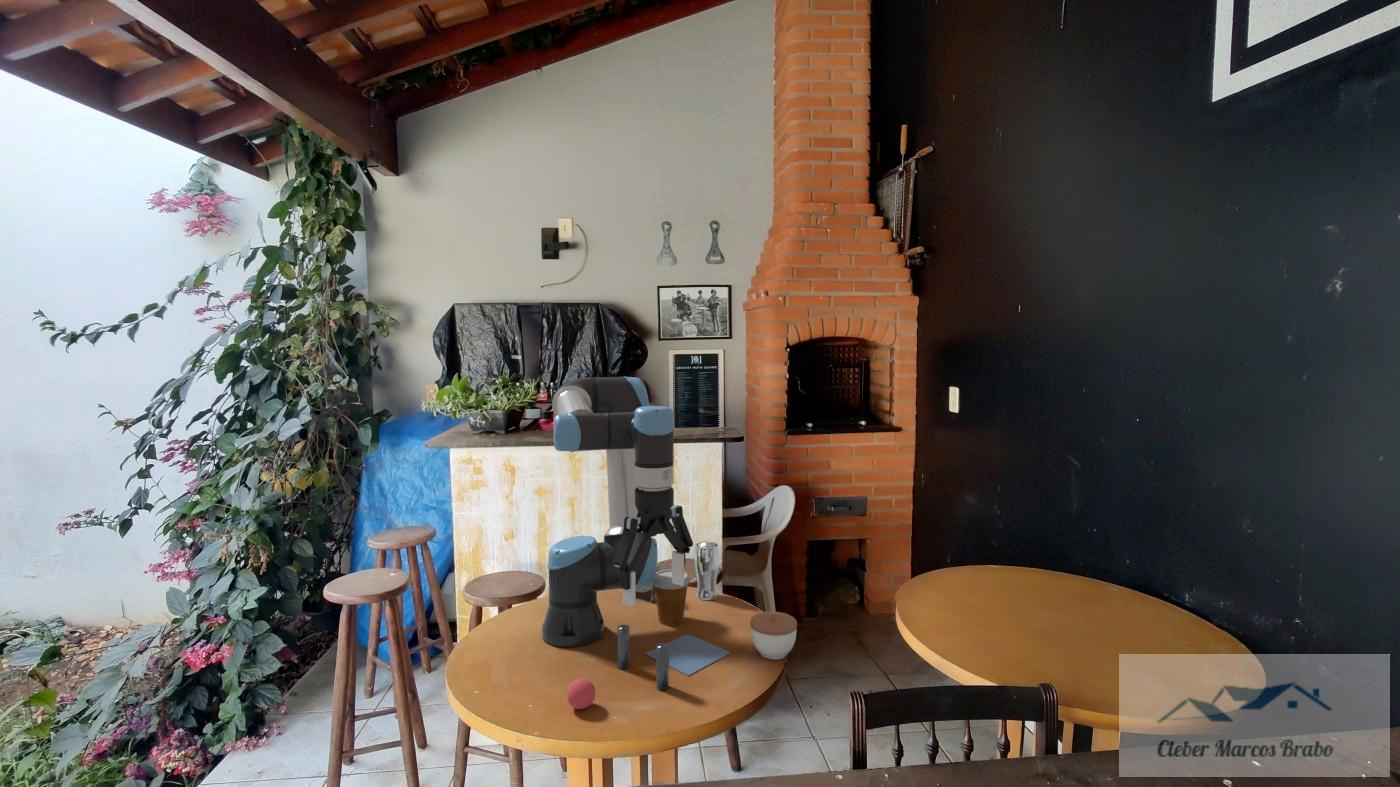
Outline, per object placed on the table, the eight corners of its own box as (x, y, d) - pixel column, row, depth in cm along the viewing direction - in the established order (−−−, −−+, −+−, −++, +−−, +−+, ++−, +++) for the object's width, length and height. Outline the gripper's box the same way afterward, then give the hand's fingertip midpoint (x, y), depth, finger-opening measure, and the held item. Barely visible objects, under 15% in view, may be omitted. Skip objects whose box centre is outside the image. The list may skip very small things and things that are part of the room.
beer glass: (716, 602, 177) (716, 549, 175) (692, 600, 178) (692, 547, 177) (720, 592, 183) (721, 542, 182) (697, 590, 185) (697, 540, 184)
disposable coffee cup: (652, 613, 169) (652, 569, 168) (688, 612, 170) (688, 568, 169) (652, 629, 160) (652, 582, 159) (690, 627, 161) (690, 581, 160)
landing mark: (645, 654, 146) (645, 653, 146) (687, 634, 157) (687, 633, 157) (688, 676, 137) (688, 675, 137) (730, 653, 147) (730, 652, 147)
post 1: (615, 666, 141) (615, 627, 140) (624, 662, 143) (624, 623, 142) (622, 670, 139) (622, 630, 138) (632, 666, 141) (631, 627, 140)
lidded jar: (757, 639, 154) (757, 601, 153) (801, 646, 150) (801, 608, 150) (744, 659, 144) (744, 619, 143) (790, 668, 140) (791, 627, 140)
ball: (561, 707, 125) (561, 680, 124) (584, 696, 129) (584, 670, 128) (578, 718, 121) (577, 690, 121) (601, 706, 125) (601, 680, 125)
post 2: (653, 687, 132) (653, 645, 131) (662, 682, 134) (662, 641, 133) (662, 692, 130) (662, 649, 130) (671, 687, 132) (671, 645, 132)
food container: (668, 597, 180) (668, 562, 179) (655, 604, 175) (655, 569, 174) (634, 588, 187) (634, 555, 186) (621, 595, 182) (620, 561, 181)
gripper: (619, 502, 110) (620, 620, 112) (710, 479, 129) (709, 580, 131) (591, 495, 115) (592, 608, 117) (682, 474, 134) (682, 571, 136)
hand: (654, 594), depth 124 cm, fingers open, 13 cm apart
